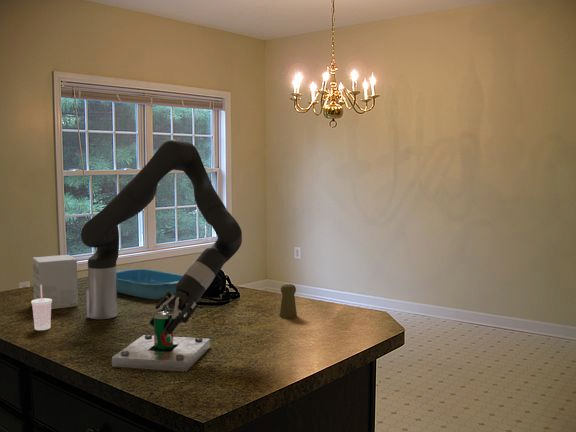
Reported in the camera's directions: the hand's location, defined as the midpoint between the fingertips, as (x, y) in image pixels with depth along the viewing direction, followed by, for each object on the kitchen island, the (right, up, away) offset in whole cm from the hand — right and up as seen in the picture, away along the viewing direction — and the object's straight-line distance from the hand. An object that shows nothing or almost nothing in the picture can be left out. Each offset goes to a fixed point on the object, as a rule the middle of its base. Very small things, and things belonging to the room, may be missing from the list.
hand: (159, 328), depth 159 cm
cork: (+35, -4, +44) cm, 56 cm away
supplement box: (-51, -3, +59) cm, 78 cm away
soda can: (+1, -8, +2) cm, 8 cm away
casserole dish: (-22, -1, +81) cm, 84 cm away
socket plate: (+1, -8, +1) cm, 8 cm away
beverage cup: (-43, -5, +28) cm, 52 cm away
